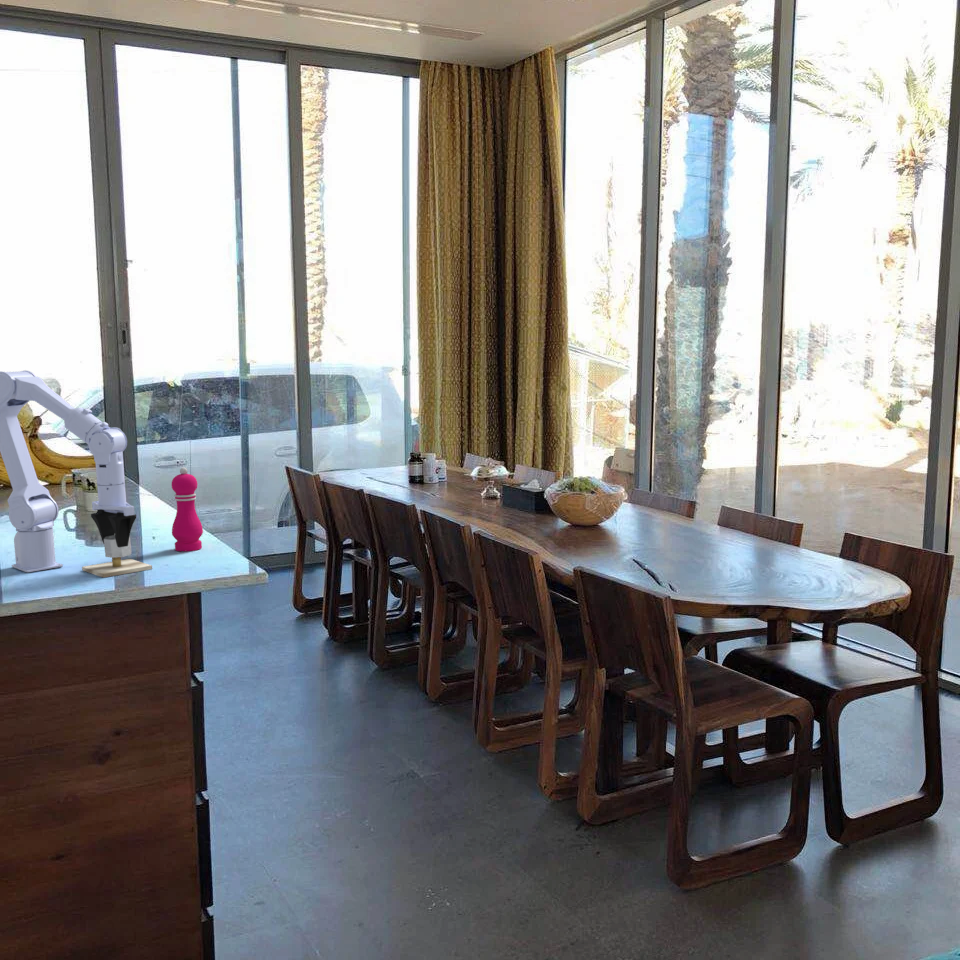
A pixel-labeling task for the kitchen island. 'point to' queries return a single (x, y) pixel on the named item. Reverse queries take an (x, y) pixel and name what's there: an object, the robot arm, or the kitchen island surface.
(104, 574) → the post block
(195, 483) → the pepper mill
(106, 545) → the collar
